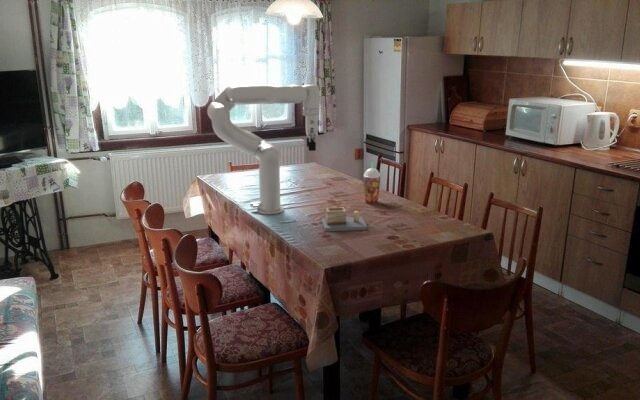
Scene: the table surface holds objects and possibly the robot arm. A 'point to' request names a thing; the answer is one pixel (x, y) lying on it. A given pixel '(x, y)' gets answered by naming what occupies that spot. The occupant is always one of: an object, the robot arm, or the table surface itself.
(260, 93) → the robot arm
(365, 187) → the smoothie
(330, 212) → the sleeve
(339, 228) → the pin board
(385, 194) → the table surface
